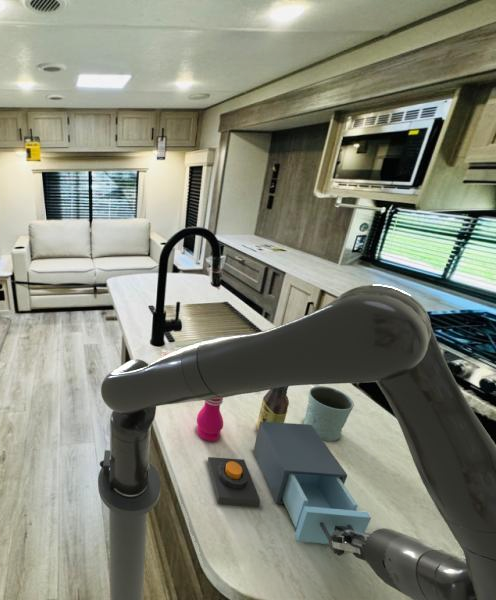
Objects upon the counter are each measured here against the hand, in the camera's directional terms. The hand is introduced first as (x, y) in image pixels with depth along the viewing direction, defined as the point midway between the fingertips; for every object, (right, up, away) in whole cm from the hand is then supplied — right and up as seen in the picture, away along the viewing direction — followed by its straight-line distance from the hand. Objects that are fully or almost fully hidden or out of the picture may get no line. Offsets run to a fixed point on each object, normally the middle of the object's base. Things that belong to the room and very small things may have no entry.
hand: (339, 532), depth 59 cm
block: (-13, -1, +17) cm, 22 cm away
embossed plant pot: (+20, +6, +32) cm, 38 cm away
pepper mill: (-13, +5, +32) cm, 35 cm away
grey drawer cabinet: (+2, 0, +18) cm, 18 cm away
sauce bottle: (+4, +5, +31) cm, 32 cm away
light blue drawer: (+1, -3, +8) cm, 8 cm away
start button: (-13, +3, +16) cm, 21 cm away
